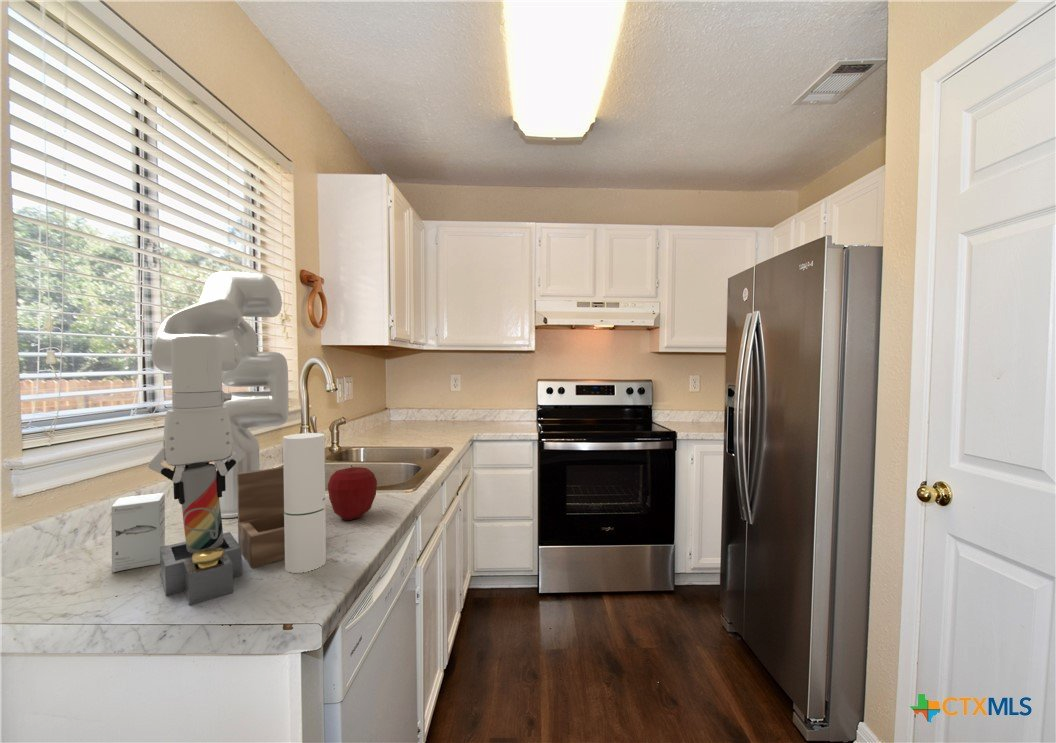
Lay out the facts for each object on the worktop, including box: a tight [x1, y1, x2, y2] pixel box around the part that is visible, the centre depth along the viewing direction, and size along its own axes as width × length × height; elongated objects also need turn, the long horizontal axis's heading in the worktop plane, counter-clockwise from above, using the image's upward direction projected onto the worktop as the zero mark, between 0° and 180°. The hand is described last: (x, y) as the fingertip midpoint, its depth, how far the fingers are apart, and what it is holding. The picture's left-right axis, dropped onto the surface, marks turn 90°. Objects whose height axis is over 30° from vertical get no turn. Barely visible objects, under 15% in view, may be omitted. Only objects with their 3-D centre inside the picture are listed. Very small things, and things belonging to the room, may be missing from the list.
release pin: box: [192, 547, 224, 569], centre depth 77 cm, size 4×4×6 cm
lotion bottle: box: [180, 462, 224, 553], centre depth 84 cm, size 6×6×20 cm
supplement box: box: [110, 492, 166, 574], centre depth 90 cm, size 7×7×13 cm
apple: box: [327, 464, 378, 521], centre depth 115 cm, size 12×12×13 cm
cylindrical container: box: [282, 432, 327, 574], centre depth 88 cm, size 7×7×25 cm
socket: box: [159, 531, 243, 606], centre depth 82 cm, size 18×11×5 cm, turn 43°
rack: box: [237, 466, 285, 569], centre depth 95 cm, size 12×11×16 cm
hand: (200, 497), depth 84 cm, fingers closed on lotion bottle, 5 cm apart
